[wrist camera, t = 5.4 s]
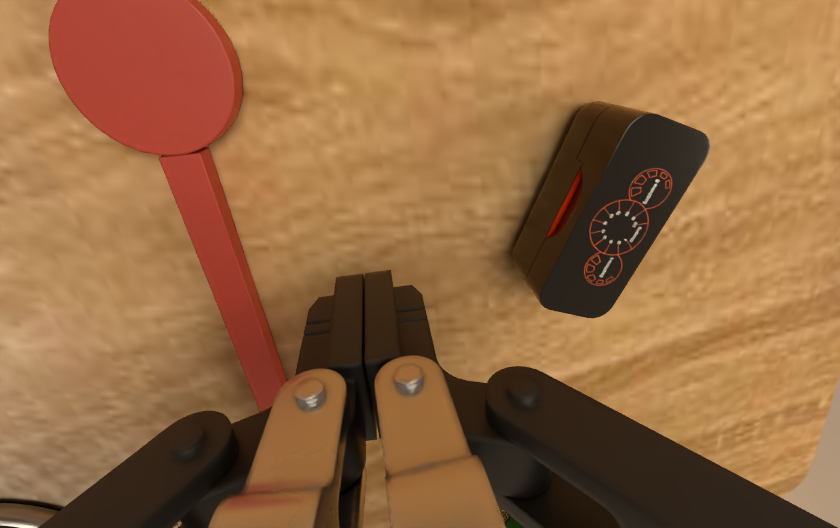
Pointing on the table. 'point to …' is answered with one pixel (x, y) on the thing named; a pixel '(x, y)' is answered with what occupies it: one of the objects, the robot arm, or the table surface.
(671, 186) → the black gauge box
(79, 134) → the table surface
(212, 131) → the spoon
